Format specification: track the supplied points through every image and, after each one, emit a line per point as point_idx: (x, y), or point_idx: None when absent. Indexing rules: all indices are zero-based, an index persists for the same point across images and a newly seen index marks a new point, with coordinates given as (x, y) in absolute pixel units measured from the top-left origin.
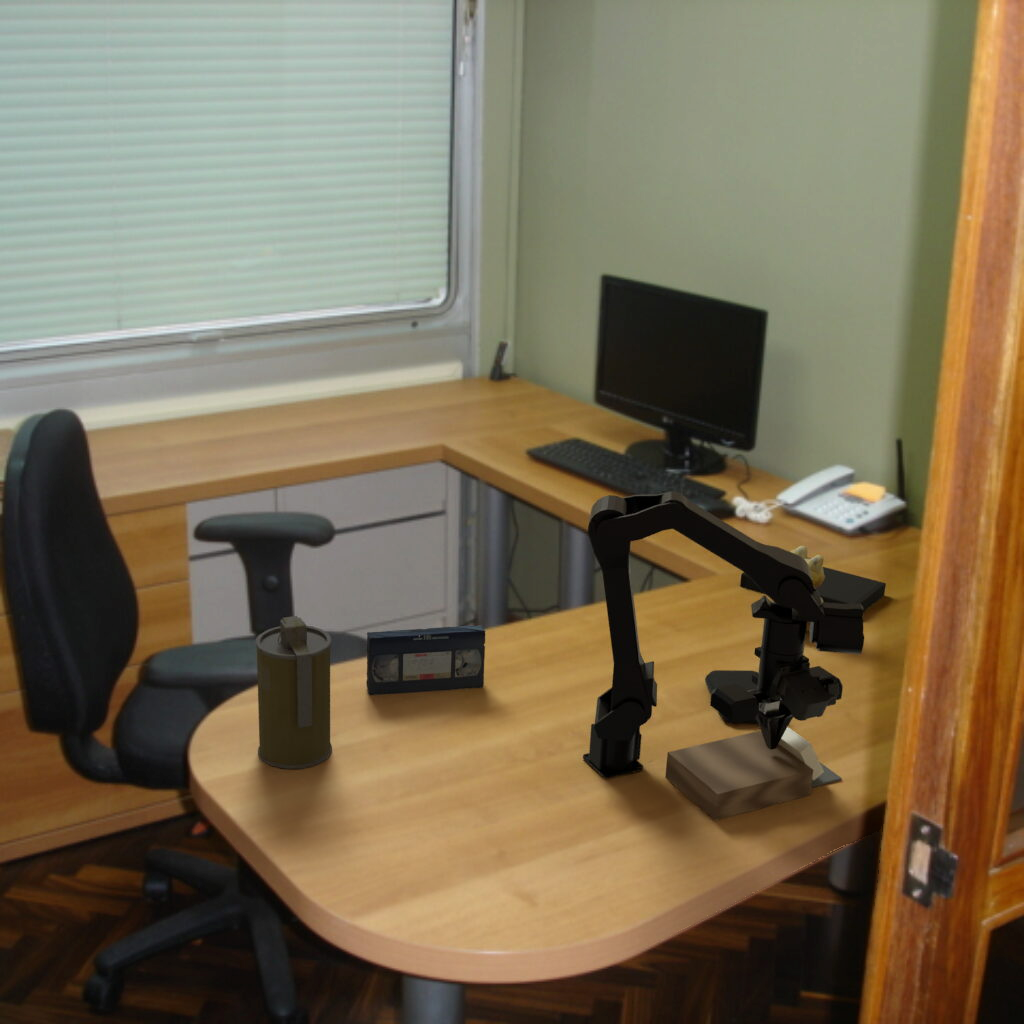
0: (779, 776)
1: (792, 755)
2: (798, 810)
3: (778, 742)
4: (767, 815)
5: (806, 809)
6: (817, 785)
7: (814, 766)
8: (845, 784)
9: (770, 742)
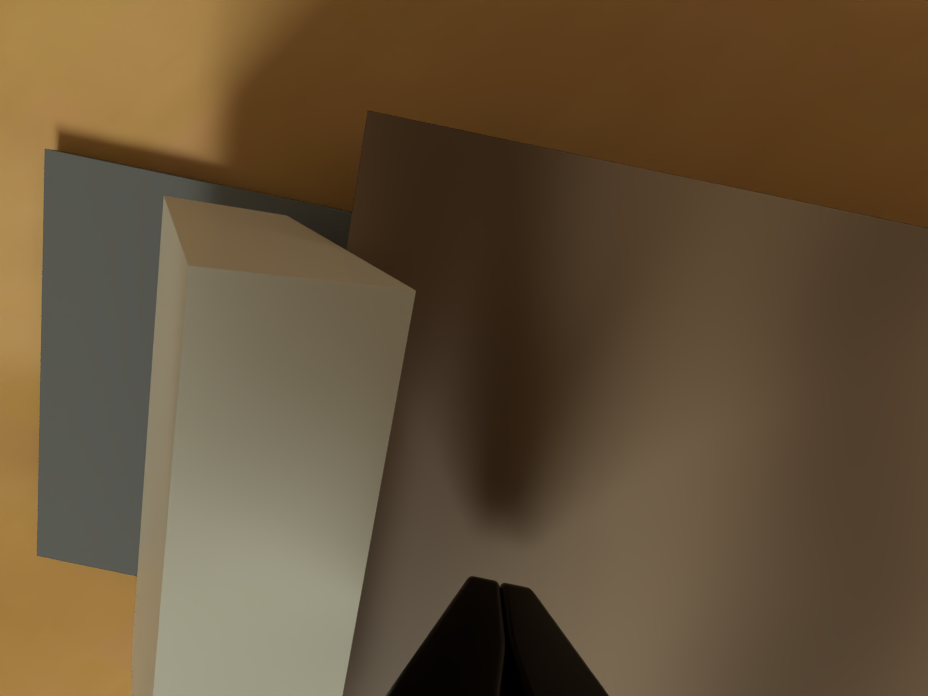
0: (795, 233)
1: None
2: (651, 45)
3: (458, 613)
4: (891, 138)
5: (590, 17)
6: (270, 195)
7: (243, 221)
8: (72, 90)
9: (578, 661)
